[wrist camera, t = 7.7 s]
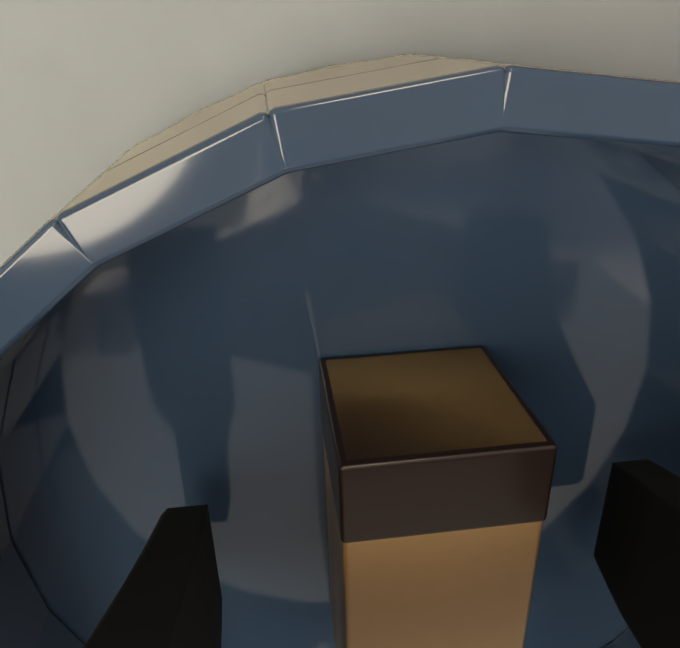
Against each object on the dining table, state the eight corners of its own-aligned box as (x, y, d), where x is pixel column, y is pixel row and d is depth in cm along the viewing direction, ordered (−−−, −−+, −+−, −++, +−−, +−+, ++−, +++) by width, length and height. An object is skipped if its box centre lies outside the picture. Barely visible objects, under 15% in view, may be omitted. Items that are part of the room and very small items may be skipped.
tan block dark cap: (463, 596, 12) (514, 734, 10) (330, 613, 12) (347, 759, 9) (485, 343, 10) (560, 445, 7) (317, 357, 9) (338, 467, 7)
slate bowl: (795, 563, 14) (985, 750, 10) (240, 790, 15) (234, 1032, 11) (695, -143, 8) (1084, -302, 4) (-234, 328, 9) (-576, 532, 5)
